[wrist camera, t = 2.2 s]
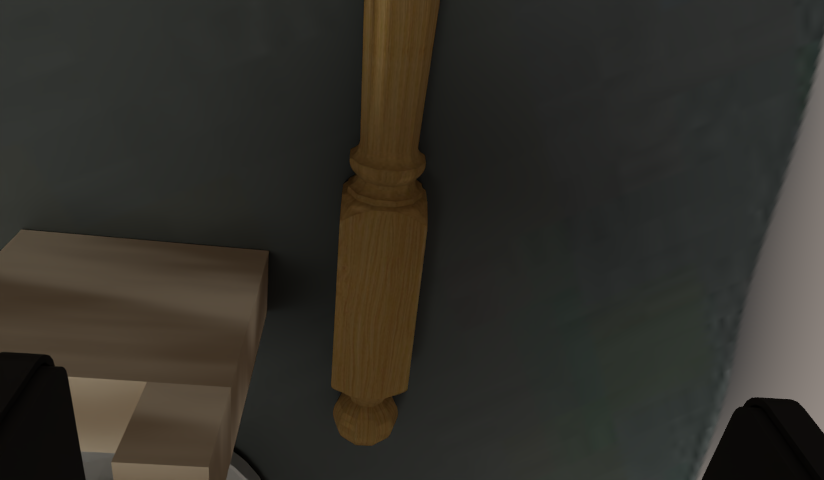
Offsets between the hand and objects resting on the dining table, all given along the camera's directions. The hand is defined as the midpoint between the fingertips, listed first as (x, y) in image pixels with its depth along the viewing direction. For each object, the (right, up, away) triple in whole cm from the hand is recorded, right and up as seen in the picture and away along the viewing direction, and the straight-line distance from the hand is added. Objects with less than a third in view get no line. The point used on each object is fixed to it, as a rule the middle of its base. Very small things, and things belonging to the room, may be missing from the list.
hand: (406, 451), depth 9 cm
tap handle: (-1, +8, +15) cm, 17 cm away
